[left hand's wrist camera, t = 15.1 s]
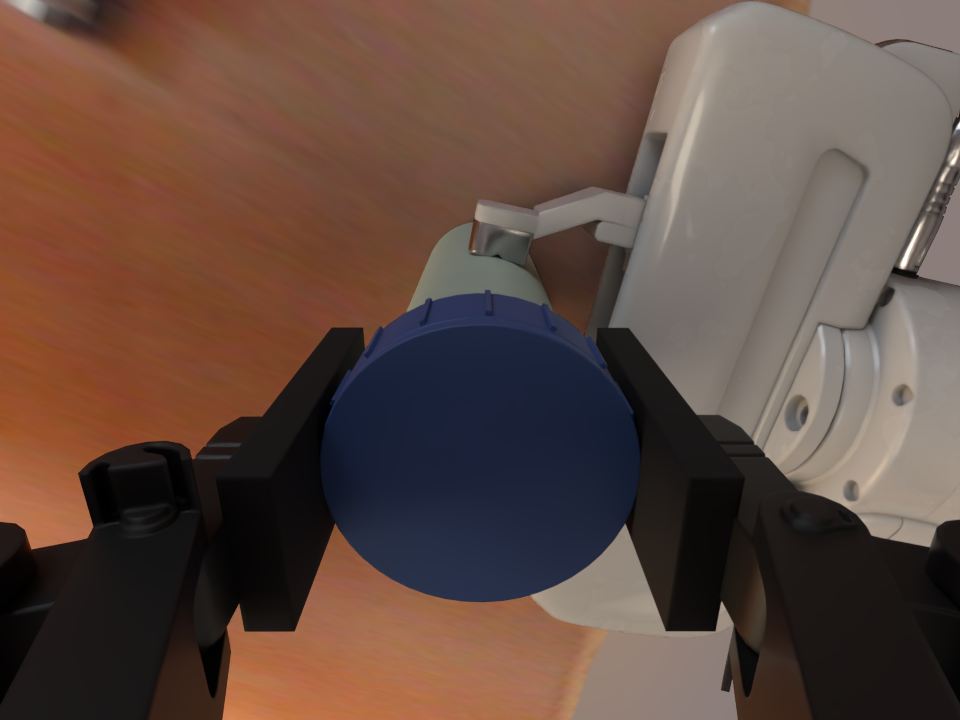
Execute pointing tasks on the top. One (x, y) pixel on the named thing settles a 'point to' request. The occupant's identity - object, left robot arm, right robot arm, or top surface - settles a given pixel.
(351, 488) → the lid
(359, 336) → the left robot arm
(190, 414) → the top surface
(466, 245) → the screw-top jar
